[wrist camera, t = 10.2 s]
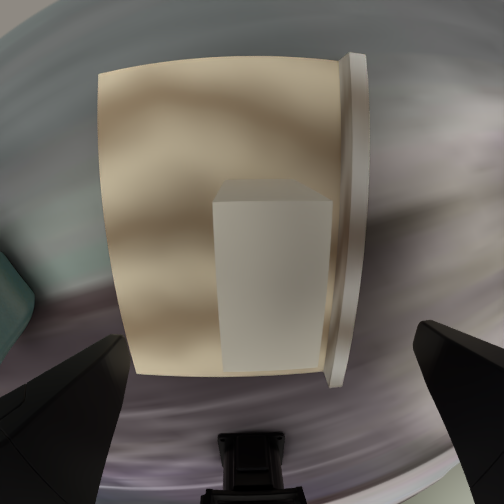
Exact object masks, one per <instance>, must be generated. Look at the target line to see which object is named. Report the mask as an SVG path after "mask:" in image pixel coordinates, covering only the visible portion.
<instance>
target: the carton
mask: <svg viewBox="0 0 504 504" xmlns="http://www.w3.org/2000/svg"><path fill="white" fill-rule="evenodd" d="M212 205H213V228H214V249H215V267H216V283H217V298H218V313H219V326H220V339H221V351H222V363H223V372H251V371H275V370H292V369H305V368H317V367H318V361H319V354H320V347H321V339H322V331H323V322H324V313H325V304H326V294H327V283H328V271H329V259H330V244H331V228H332V208H333V201H332V200H330V199H328V198H327V197H325V196H323V195H321V194H320V193H318V192H316V191H314V190H313V189H311V188H309V187H307V186H305V185H304V184H302V183H300V182H298V181H296V180H294V179H236V180H225V181H224V182H223V184H222V186H221V188H220V189H219V191H218V193H217V195H216V197H215V198H214V200H213V202H212Z"/></svg>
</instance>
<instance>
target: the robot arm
mask: <svg viewBox="0 0 504 504" xmlns="http://www.w3.org/2000/svg"><path fill="white" fill-rule="evenodd" d="M413 350H414V353H415V356H416V358H417V361H418V364H419V366H420V369H421V372H422V374H423V377H424V380H425V382H426V385H427V387H428V390H429V392H430V394H431V396H432V398H433V400H434V402H435V405H436V407H437V409H438V411H439V413H440V415H441V418H442V420H443V422H444V424H445V427H446V429H447V431H448V434H449V436H450V438H451V441H452V443H453V446H454V448H455V450H456V453H457V455H458V458H459V460H460V463H461V466H462V468H463V471H464V473H465V476H466V479H467V482H468V484H469V487H470V490H471V493H472V496H473V499H474V502H475V504H504V349H503V348H501V347H498V346H496V345H493V344H491V343H488V342H486V341H483V340H481V339H478V338H476V337H473V336H471V335H468V334H466V333H463V332H460V331H458V330H455V329H453V328H450V327H448V326H445V325H443V324H440V323H438V322H435V321H433V320H426V321H421V322H420V323H419V324H418V327H417V330H416V334H415V338H414V341H413ZM130 364H131V359H130V354H129V351H128V347H127V343H126V340H125V337H124V336H123V335H117V334H110V335H108V336H107V337H105V338H103V339H101V340H100V341H98V342H96V343H94V344H93V345H91V346H89V347H88V348H86V349H84V350H82V351H81V352H79V353H77V354H76V355H74V356H72V357H70V358H69V359H67V360H65V361H63V362H62V363H60V364H58V365H57V366H55V367H53V368H51V369H50V370H48V371H46V372H44V373H43V374H41V375H39V376H38V377H36V378H34V379H32V380H31V381H29V382H27V384H24V385H22V386H20V387H19V388H17V389H15V390H13V391H11V392H10V393H8V394H6V395H4V396H2V397H0V504H95V502H96V497H97V493H98V489H99V485H100V481H101V477H102V473H103V470H104V466H105V462H106V459H107V455H108V451H109V448H110V444H111V441H112V437H113V434H114V431H115V427H116V424H117V421H118V418H119V414H120V411H121V408H122V404H123V399H124V394H125V389H126V384H127V379H128V374H129V369H130ZM284 440H285V436H284V434H283V433H264V434H222V435H219V436H218V445H219V451H220V456H221V462H222V467H223V468H224V470H223V490H212V489H206V494H205V495H202V496H201V501H200V504H307V502H306V499H305V495H304V492H303V489H302V486H300V487H296V488H287V489H284V485H283V477H282V469H281V465H282V459H283V450H284Z"/></svg>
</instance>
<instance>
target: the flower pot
mask: <svg viewBox="0 0 504 504" xmlns="http://www.w3.org/2000/svg"><path fill="white" fill-rule="evenodd" d="M34 303H35V295H34V293H33V291H32V290H31V289H30V288H29V286H28V285H27V284H26V283H25V281H24V280H23V279H22V278H21V276H20V275H19V274H18V273H17V271H16V270H15V268H14V267H13V266H12V264H11V263H10V262H9V260H8V259H7V257H6V256H5V255H4V254H3V253H2V252H0V364H1V363H2V361H3V359H4V358H5V356H6V355H7V353H8V351H9V350H10V348H11V347H12V346H13V344H14V343H15V342H16V340H17V339H18V338H19V336H20V335H21V334H22V332H23V331H24V329H25V328H26V326H27V325H28V323H29V321H30V319H31V316H32V313H33V309H34Z"/></svg>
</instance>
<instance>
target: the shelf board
mask: <svg viewBox="0 0 504 504" xmlns="http://www.w3.org/2000/svg"><path fill="white" fill-rule="evenodd" d="M98 150H99V168H100V182H101V193H102V203H103V212H104V221H105V229H106V236H107V243H108V249H109V256H110V262H111V267H112V273H113V278H114V283H115V289H116V293H117V298H118V303H119V307H120V312H121V316H122V321H123V325H124V329H125V333H126V337H127V341H128V344H129V348H130V352H131V355H132V359H133V362H134V366H135V369H136V373H137V374H148V375H165V376H192V377H240V376H268V375H285V374H299V373H311V372H321V371H323V372H324V375H325V378H326V380H327V383H328V386H329V388H334V387H342V384H343V379H344V375H345V371H346V366H347V362H348V356H349V351H350V346H351V340H352V335H353V329H354V323H355V317H356V310H357V304H358V297H359V289H360V282H361V274H362V265H363V256H364V246H365V235H366V222H367V207H368V189H369V157H370V121H369V90H368V73H367V64H366V55H364V54H358V53H352V52H349V53H348V54H346V55H345V56H344V57H343V58H342V59H340V60H339V61H333V60H324V59H313V58H300V57H280V56H230V57H210V58H197V59H186V60H177V61H168V62H161V63H154V64H147V65H141V66H135V67H130V68H125V69H120V70H115V71H110V72H106V73H101V74H99V78H98ZM236 179H294V180H296V181H298V182H300V183H302V184H304V185H305V186H307V187H309V188H311V189H313V190H314V191H316V192H318V193H320V194H321V195H323V196H325V197H327V198H328V199H330V200H332V201H333V208H332V228H331V244H330V259H329V271H328V283H327V294H326V304H325V313H324V322H323V331H322V339H321V347H320V354H319V361H318V367H317V368H305V369H292V370H275V371H251V372H223V363H222V351H221V339H220V326H219V313H218V298H217V283H216V267H215V249H214V228H213V205H212V202H213V200H214V198H215V197H216V195H217V193H218V191H219V189H220V188H221V186H222V184H223V182H224V181H225V180H236Z"/></svg>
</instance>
